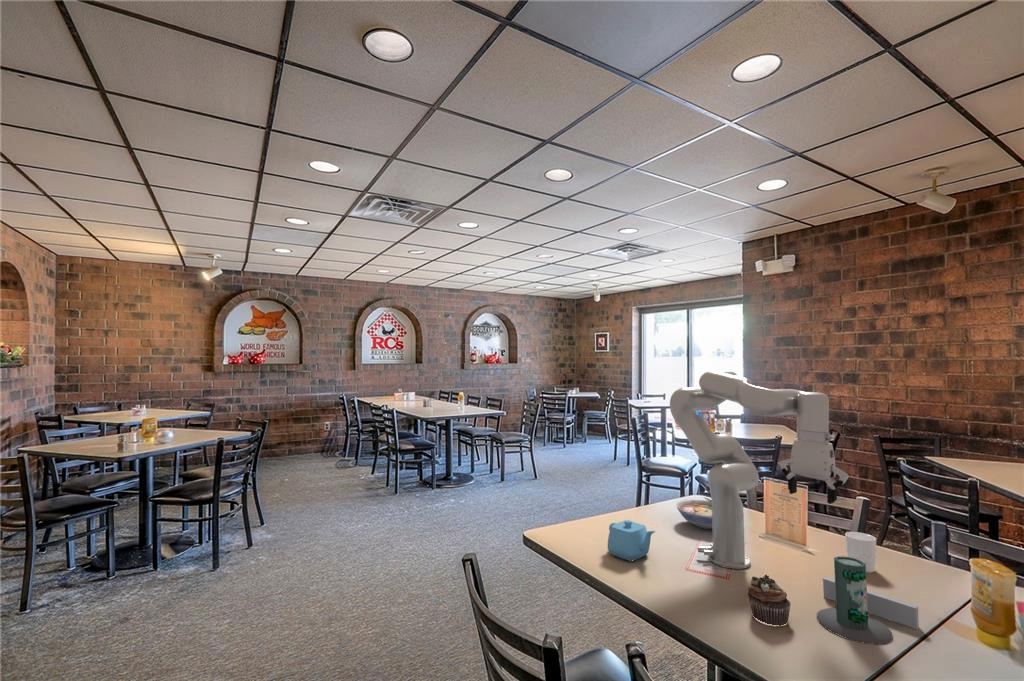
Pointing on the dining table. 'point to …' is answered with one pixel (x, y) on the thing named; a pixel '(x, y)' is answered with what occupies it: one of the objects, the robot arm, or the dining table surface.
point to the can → (851, 593)
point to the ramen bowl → (697, 512)
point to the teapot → (628, 540)
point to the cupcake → (768, 601)
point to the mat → (871, 635)
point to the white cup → (862, 548)
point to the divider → (881, 606)
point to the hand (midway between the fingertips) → (811, 497)
